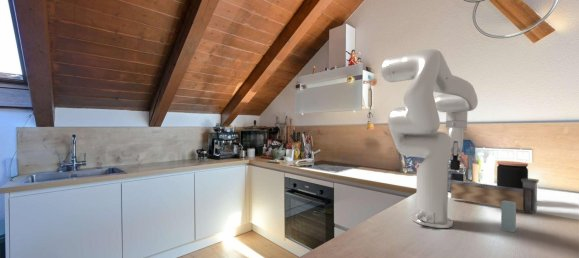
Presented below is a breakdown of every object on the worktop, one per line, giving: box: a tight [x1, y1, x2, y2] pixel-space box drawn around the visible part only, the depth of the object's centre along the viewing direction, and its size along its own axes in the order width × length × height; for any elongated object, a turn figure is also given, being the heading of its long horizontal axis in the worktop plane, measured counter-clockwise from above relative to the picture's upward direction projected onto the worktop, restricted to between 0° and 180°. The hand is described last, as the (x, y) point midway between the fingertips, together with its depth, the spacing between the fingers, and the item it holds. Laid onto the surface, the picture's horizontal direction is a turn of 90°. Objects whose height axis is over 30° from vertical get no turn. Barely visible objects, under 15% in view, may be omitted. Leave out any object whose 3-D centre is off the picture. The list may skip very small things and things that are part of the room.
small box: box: [448, 170, 465, 194], centre depth 134 cm, size 11×6×10 cm, turn 168°
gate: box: [450, 180, 531, 213], centre depth 107 cm, size 27×2×8 cm, turn 46°
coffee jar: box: [496, 160, 529, 189], centre depth 115 cm, size 11×11×18 cm
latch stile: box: [500, 200, 517, 233], centre depth 81 cm, size 3×3×9 cm
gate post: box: [521, 177, 540, 214], centre depth 100 cm, size 4×4×13 cm
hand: (455, 169), depth 105 cm, fingers closed
